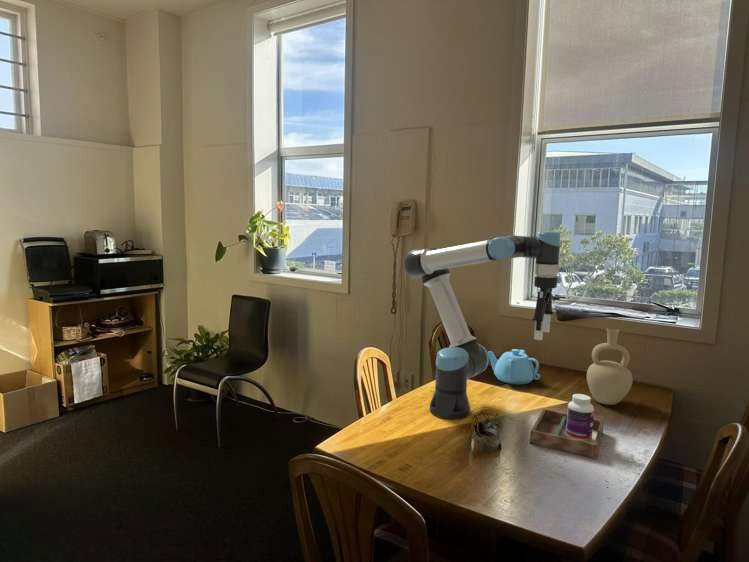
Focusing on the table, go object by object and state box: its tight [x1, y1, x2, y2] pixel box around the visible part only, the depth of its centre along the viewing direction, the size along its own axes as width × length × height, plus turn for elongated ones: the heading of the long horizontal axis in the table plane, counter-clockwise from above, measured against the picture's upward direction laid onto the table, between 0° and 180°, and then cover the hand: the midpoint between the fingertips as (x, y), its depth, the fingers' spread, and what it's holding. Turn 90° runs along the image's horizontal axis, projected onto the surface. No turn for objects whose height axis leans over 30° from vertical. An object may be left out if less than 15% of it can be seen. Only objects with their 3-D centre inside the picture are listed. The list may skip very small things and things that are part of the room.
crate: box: [529, 408, 605, 460], centre depth 169 cm, size 20×22×4 cm
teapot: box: [487, 348, 541, 385], centre depth 229 cm, size 19×19×14 cm
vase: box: [586, 327, 634, 406], centre depth 202 cm, size 17×17×30 cm
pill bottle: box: [566, 393, 595, 442], centre depth 167 cm, size 8×8×14 cm
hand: (541, 335), depth 179 cm, fingers open, 13 cm apart
